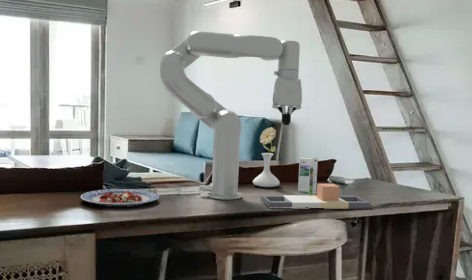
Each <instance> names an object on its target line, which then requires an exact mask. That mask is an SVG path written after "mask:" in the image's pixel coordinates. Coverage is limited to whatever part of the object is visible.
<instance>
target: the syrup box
mask: <svg viewBox="0 0 472 280" xmlns="http://www.w3.org/2000/svg"><path fill="white" fill-rule="evenodd" d="M318 163H319V158H317V157H310V156H309V157H308V156H301V157H300V158H299V165H298V184H297V185H298V186H297V195H317V184H318V183H317V182H318V181H317V180H318V179H317V178H318Z"/></svg>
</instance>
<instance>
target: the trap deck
mask: <svg viewBox="0 0 472 280" xmlns="http://www.w3.org/2000/svg"><path fill="white" fill-rule="evenodd" d="M261 201H262V202H263V203H262V202H261ZM260 202H261V203H262V204H264V203H265V204H266V205H267V206H268V207H308V208H307V209H309V208H310V207H311V208H324V209H325V210H326V209H328V210H329V209H331V210H332V209H335V210H336V209H339V210H341V209H342V210H343V209H350V210H351V209H355V210H356V209H357V210H358V209H362V210H363V209H364V210H365V209H371V203H372V202H370V201H368V200H366V199H364V198H362V197H359V196H357V195H339V201H322V200H320V199H318V198H317V194H315V195H298V194H297V195H294V194H293V195H291V194H290V195H287V194H285V195H283V194H281V195H280V194H279V195H276V194H273V195H272V194H260ZM265 204H264V205H265ZM266 205H265V206H266ZM267 206H266V207H267ZM268 207H267V208H268Z"/></svg>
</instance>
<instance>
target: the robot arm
mask: <svg viewBox="0 0 472 280" xmlns="http://www.w3.org/2000/svg"><path fill="white" fill-rule="evenodd" d="M300 46H301V45H300V42H298V41H296V40H282V41H281V40H280V39H278V38H276V37H274V36H273V37H272V36H262V35H253V34H252V35H251V34H250V35H249V34H239V33H237V34H235V33H225V32H224V33H222V32H213V31H202V30H197V31H196V30H195V31H192V32H190V34H188V36H187V37H186V38H185V39H184V40H182V41H181V42H180V43H179V44H178V45H176V46H174V48H172V49H171V50H169V51H167V52H165V53H164V54H163V55H162V56H161V59H160V66H159V67H160V68H159V75H160V79H161V82H162V84H163V87H164V88H165V90H166V91H167V93H168V94H169V95H171V96H172V97H173V98H174V99H175V100H176V101H178V102H179V103H180V104H181V105H183V106H184V107H186V108H187V109H188V111H189V112H190V113H191V114H192V115H193V117H195V118H197V119H198V120H199V121H201V123H203V124H204V125H206V127H208V128H210V129H211V130H212V131H214V133H213V146H212V170H211V171H212V175H211V177H212V178H211V182H210V183H209V184H207V185H199V186H198V191H200V192H207V193H206V194H207V195H206V197H208V198H210V199H214V200H228V201H229V200H238V199H241V198H242V197H243V195H242V194H243V193H241V192H239V190H238V189H239V168H240V166H239V165H240V140H241V133H242V121H241V118H240V117H239V115H238V114H237V113H236V112H234V111H232V110H229V109H227V108H226V107H225V106H223V105H222V104H221V103H219V102H218V101H217V100H216V99H215V98H214V97H213V96H212V95H211V94H210V93H208V92H206V91H205V90H203V89H202V88H201V87H200V86H198V85H197V84H196V83H195V82H194V81H192V80H191V79H190V78H189V77H188V76H187V75H186V73H185V69H186V68H188V67H190V66H191V65H192V64H193V63H194V62H196V61H197V60H198V59H199V58H200V57H202V56H203V57H213V58H225V59H238V58H245V57H246V58H260V59H261V60H263V61H266V62H267V61H277V60H278V61H277V62H278V63H277V67H278V69H277V70H276V71H275V70H274V71H273V74H274V75H275V76H276V78H275V81H274V87H273V95H272V106H271V108H272V109H276V110H278V111H279V112H280V113H281V123H282V125H283V126H290V124H291V121H292V120H291V118H292V117H291V116H292V114H293V113H294V112H295V111H298V110H301V109H302V103H303V91H302V87H303V86H302V82H301V81H302V80H301V78H299V70H300V69H299V68H300V67H299V66H300V51H301V50H300V48H301V47H300ZM286 106H287V111H286Z"/></svg>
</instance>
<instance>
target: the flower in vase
mask: <svg viewBox="0 0 472 280" xmlns="http://www.w3.org/2000/svg"><path fill="white" fill-rule="evenodd" d="M276 133H277V130H276V129H275V128H274V127H271V126H270V127H267V128H265V129H264V130H263V131H262V132H261V134H260V136H259V142H260V143H261V144H262V146H263V147H264V149H266V150H267V151H268V152H262V153H261V156H262V158H263V162H264V163H263V164H264V165H263V171H262V172H261V173H260V174H259V175H257V176H256V177H255V178H254V179H253V180H252V183H253V184H252V185H255V186H256V187H257V186H258V187H261V188H274V187H277V186H280V180H279V179H278V178H277V177H276V176H275V175H274V174H273V173H272V172H271V170H270V169H271V168H270V166H271V165H270V164H271V159H272V157H273V156H274V153H273V152H277V149H276V146H273V142H272V141H273V140H274V139H275V138H276ZM267 144H270V148H269V147H267V146H265V145H267Z"/></svg>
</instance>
